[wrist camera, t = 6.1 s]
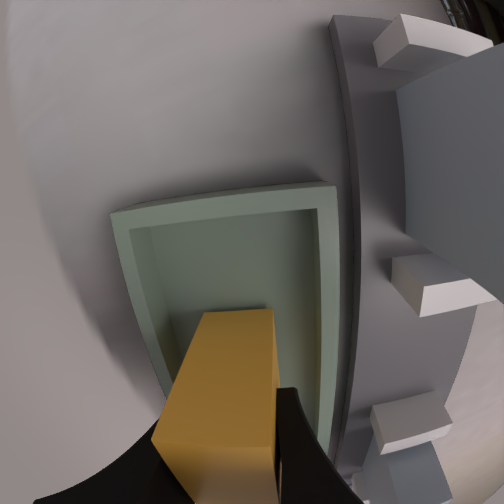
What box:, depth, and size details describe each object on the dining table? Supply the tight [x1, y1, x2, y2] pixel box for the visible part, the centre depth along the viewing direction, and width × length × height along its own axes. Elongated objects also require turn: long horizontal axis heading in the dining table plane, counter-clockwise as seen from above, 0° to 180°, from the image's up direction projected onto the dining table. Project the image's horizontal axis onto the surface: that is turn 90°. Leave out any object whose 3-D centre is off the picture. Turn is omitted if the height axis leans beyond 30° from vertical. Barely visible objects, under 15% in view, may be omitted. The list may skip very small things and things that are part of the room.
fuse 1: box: [396, 43, 504, 304], centre depth 5 cm, size 5×3×6 cm, turn 7°
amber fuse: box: [151, 308, 281, 504], centre depth 8 cm, size 5×3×6 cm, turn 7°
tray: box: [110, 181, 340, 456], centre depth 11 cm, size 14×7×2 cm, turn 7°
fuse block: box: [328, 14, 497, 504], centre depth 10 cm, size 26×6×4 cm, turn 7°
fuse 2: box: [362, 433, 453, 504], centre depth 10 cm, size 5×3×6 cm, turn 7°
